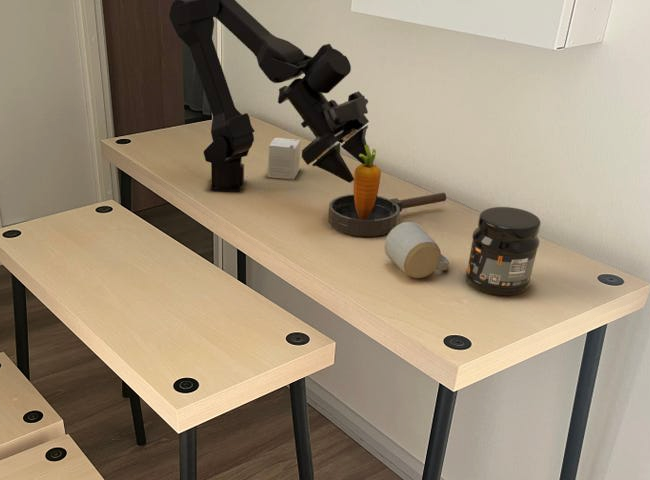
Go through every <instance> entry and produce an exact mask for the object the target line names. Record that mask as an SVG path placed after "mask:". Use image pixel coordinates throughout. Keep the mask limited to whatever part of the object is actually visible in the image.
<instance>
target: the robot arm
mask: <svg viewBox="0 0 650 480" xmlns="http://www.w3.org/2000/svg"><path fill="white" fill-rule="evenodd" d="M168 14H169V15H168V16H169V21H170V23H171V25H172V27H173V29H174V32H175V33H176V35H177V37H178V38H179V39H180V40H181V41H182V42H183V43H184V44H185V45H186V46H187V47H188V48H189V51H190V53H191V57H192V59H193V62H194V65H195V68H196V71H197V74H198V77H199V80H200V83H201V85H202V89H203V92H204V94H205V97H206V100H207V103H208V106H209V109H210V112H211V115H212V119H211V127H210V135H211V140H212V142H211V143H210V144H209V145H208V146H207V147H206V148H205V149H204V150H203V157H204V160H205V162H207V163H210V164H211V165H210V166H211V167H210V168H211V169H210V170H211V171H210V174H211V175H210V176H211V178H210V180H211V183H210V187H209V190H210V191H219V192H241V189H242V187H243V186H244V183H245V163H242V158H245V157H247V156H248V154H249V151H250V149H251V148H252V147H253V143H254V142H255V137H254V133H255V131H256V130H255V129H254V128H253V125H252V122H251V118H250V115H249V113H247V112H245V113H243V114H242V113H241V112H240V111H239V110H238V109H237V108H236V105H235V103H234V100H233V97H232V94H231V91H230V87H229V85H228V82H227V80H226V76H225V73H224V70H223V67H222V64H221V60H220V58H219V55H218V53H217V49H216V46H215V44H214V40H213V35H214V27H215V20H214V18H215V19H216V20H218V22H220V24H222V26H224V28H226V30H228V31H229V32H230V33H231V34H233V35H234V36H235V37H236V38H237V40H239V41H240V42H241V43H242V44H243V45H244V46H245V47H246V48H247V49H248V50H249V51H251V53H252V54H253V55H254V56H255V58H256V60H257V64H258V67H259V69H260V70H261V71H262V72H263V74H264V76H266V78H267V79H268V80H269V81H270V82H271V83H273V84H280V83H284V82H287V81H290V80H292V81H291V82H290V83H289V84H288V85H284V86H281V87H280V88H278V91H279V92H278V93H279V94H278V96H277V97H278V98H277V103H278V104H280V105H281V104H283V103H285V102H286V101H288V102H289V103H290V104H291V106H292V107H293V108H294V110H295V111H296V112H297V113H298V115H299V117H301V118H302V120H303V121H302V122H301V123H300V125H301V127H302V128H303V129H305V128H309V130H310V131H311V133H312V134H313V136H314V137H315V138H314V139H313V140H311V142H310V143H309V144H308V145H306V146H305V147H304V148H303V149H302V150H301V158H302V160H303V161H304V162H305V164H306V165H307V166H309V165H310V164H311V165H312V166H313V167H317V168H319V169H320V170H321V169H322V170H324V171H326V172H328V173H330V174H332V175H334V176H335V177H337V178H339V179H342V180H343V181H345V182H347V183H349V184H351V183H352V182H354V175H353V174H352V172H351V170H350V169H349V167H348V165H347V163H346V162H345V159H343V157H342V155H341V149H343V150H344V151H346V152H347V153H348V154H349V155H351V156H352V157H353V158H354V159H356V160H357V161H358V162H359V163H360V164H365V161H364V160H363V159H362V158H361V157H359V154H363V155H365V156H367V154H366V151H365V147H364V146H365V145H368V144H367V141H366V135H367V130H368V128H369V125H367V124H369V122H370V121H369V120H368V119H369V118H367V117H366V115H368V113H369V111H368V108H367V105H368V103H369V100H368V98H366V97H365V95H364V94H362V93H361V92H360V91H359V90H358V91H355V92H352V93H351V94H349V95H348V97H347V101H344V102H342V103H339V104H338V103H337V101H336V100H335V99H330V100H328V99H327V97H326V96H325V95H324V94H329V93H330V92H331V91H332V90H334V89H335V87H337V86H338V85H339V84H340V83H341V82H342V81H343V80H344V79H345V78H346V77H348V75H349V74H350V73H351V71H352V65H351V62H350V59H349V58H348V57H347V55H344V54H343V53H342V52H341V51H340V50H338V49H336V48H333V46H332V45H331V43H325V44H322V46H321V47H320V48H319V49H318V50H317V52H316V53H315V55H313V56H310V55H308V54H305V53H304V51H303V50H302V49H301V48H299V47H298V46H296V45H295V44H293V43H292V42H290V41H288V40H286V39H284V38H280V37H277V36H275V35H274V34H272V32H270V30H268V29H267V28H266V27H264V25H263V24H262V23H260V22H259V21H258V20H257V19H256V18H255V17H254V16H253V15H252V14H251V13H250V12H248V11H247V9H245V8H244V6H242V5H241V4H240V3H238V2H237V0H174V1H173V2H172V4H171V6H170V10H169V12H168ZM302 75H304V76H303V77H302V78H300V77H301V76H302ZM336 143H337V144H336ZM341 144H342V145H341Z"/></svg>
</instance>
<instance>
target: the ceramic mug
mask: <svg viewBox="0 0 650 480" xmlns="http://www.w3.org/2000/svg"><path fill="white" fill-rule="evenodd" d="M383 247H384V253H385V255H386V257H387V258H388V259H389V260H390V261H392V263H393V264H394V265H396V267H398V269H400V271H402V272H403V273H404V274H405V275H407V276H408V277H411V278H413V279H422V278H423V279H424V278H425V277H428V276H430V275H431V274H433V273H434V272H435V271H436V270H439V271H446V270H447V269H448V267H449V266H450V261H449V259H448V258H447V257H446V256H444V255H443V254H442V251H441V249H440V247H439V244H438V243H437V242H436V241H435V240H434V239H433V238H432V237H431V236H430V235H429V234H428V233H427V232H426V231H425V230H424V228H423V227H422V226H421V225H420V224H418V223H416V222H413V221H405V222H402V223H398V225H397V226H396V227H394V228H393V229H392V230H391V231H390V233H387V236H386V237H385V241H384V246H383Z"/></svg>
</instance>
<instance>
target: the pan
mask: <svg viewBox="0 0 650 480" xmlns="http://www.w3.org/2000/svg"><path fill="white" fill-rule="evenodd" d="M327 213H328V214H327V223H328V224H329V225H330V227H331V228H333V229H334V230H336V231H337V232H340V233H342V234H345V235H349V236H353V237H363V238H368V237H369V238H371V237H372V238H373V237H380V236H384V235H388V234H389V233H390V231H391V230H392V229H393V228H394V227H396V226H397V225H399V222H400V221H399V220H400V214H401V212H400V208H399V206H398V205H397V204H396V203H394V202H392V201H391V200H390V198H387V197H383V196H380V195H377V198H376V201H375V204H374V207H373V209H372V211H371V213H370V215H369V216H368V218H367V219H366V220H364V219H360V218H359V216H358V214H357V211H356V207H355V201H354V193H353V194H352V193H351V194H344V195H341V196H338V197H335V198H333V199H332V200H331V201H330V202H329V203H328V212H327Z"/></svg>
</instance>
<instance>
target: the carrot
mask: <svg viewBox="0 0 650 480" xmlns="http://www.w3.org/2000/svg"><path fill="white" fill-rule="evenodd" d="M364 147H365V151H366V154H367V156H365V155H363V154H359V157H361V158H362V159H363V160H364V161H365V164H362V163H360V164H359V165H358V166H356V167H355V169H354V172H353V173H354V174H353V178H354V180H353V194H354V201H355V207H356V211H357V214H358V216H359V218H360V219H364V220H366V219H367V218H368V216H369V215H370V213H371V211H372V209H373V207H374V204H375V201H376V198H377V196H378V194H379V189H380V184H381V177H382V171H381V169H380V167H379V166H377V165H376V164H374V161H375V159H376V156H377V150H376V148H372V152H371V149H370V146H369V144H367V145H365V146H364Z"/></svg>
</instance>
